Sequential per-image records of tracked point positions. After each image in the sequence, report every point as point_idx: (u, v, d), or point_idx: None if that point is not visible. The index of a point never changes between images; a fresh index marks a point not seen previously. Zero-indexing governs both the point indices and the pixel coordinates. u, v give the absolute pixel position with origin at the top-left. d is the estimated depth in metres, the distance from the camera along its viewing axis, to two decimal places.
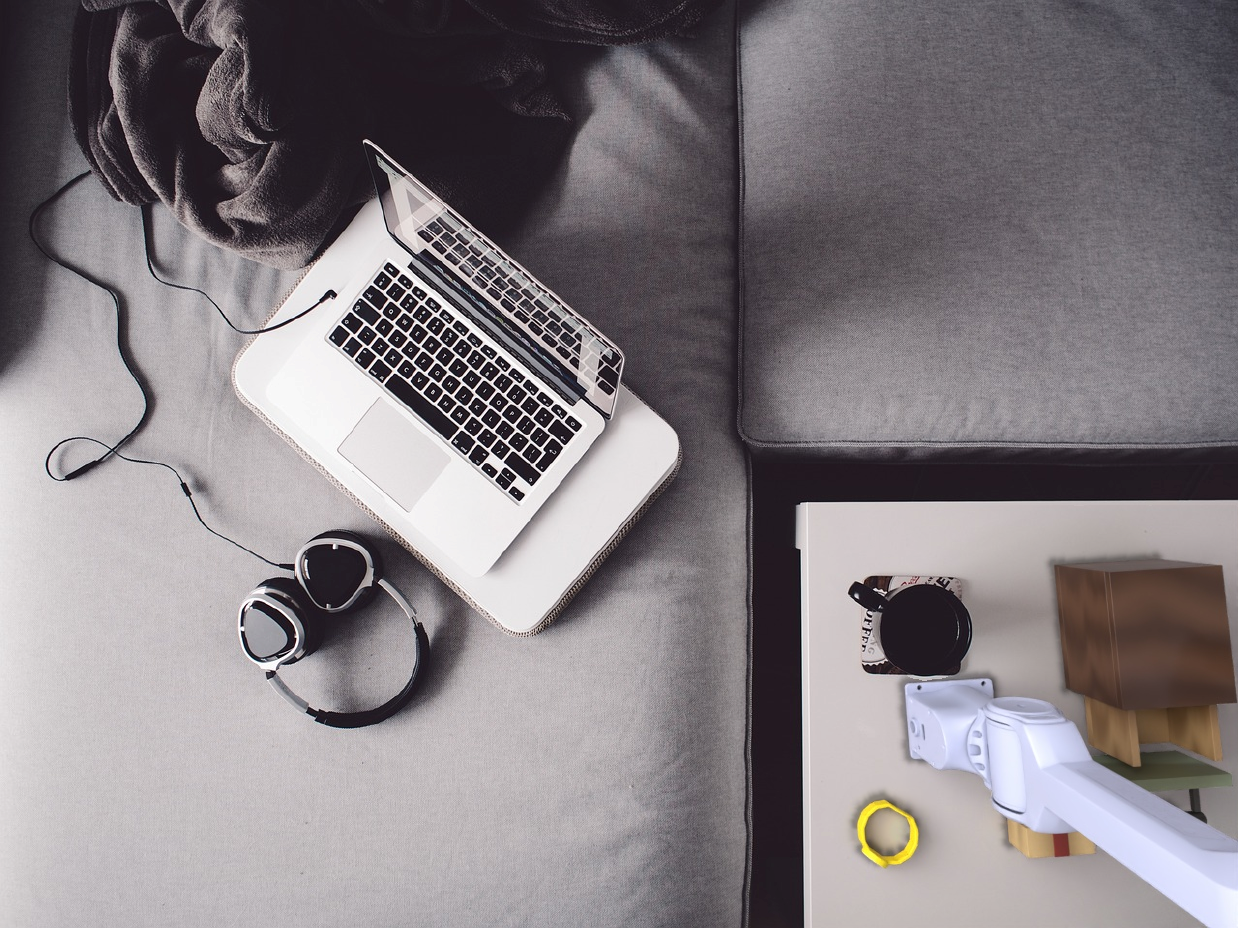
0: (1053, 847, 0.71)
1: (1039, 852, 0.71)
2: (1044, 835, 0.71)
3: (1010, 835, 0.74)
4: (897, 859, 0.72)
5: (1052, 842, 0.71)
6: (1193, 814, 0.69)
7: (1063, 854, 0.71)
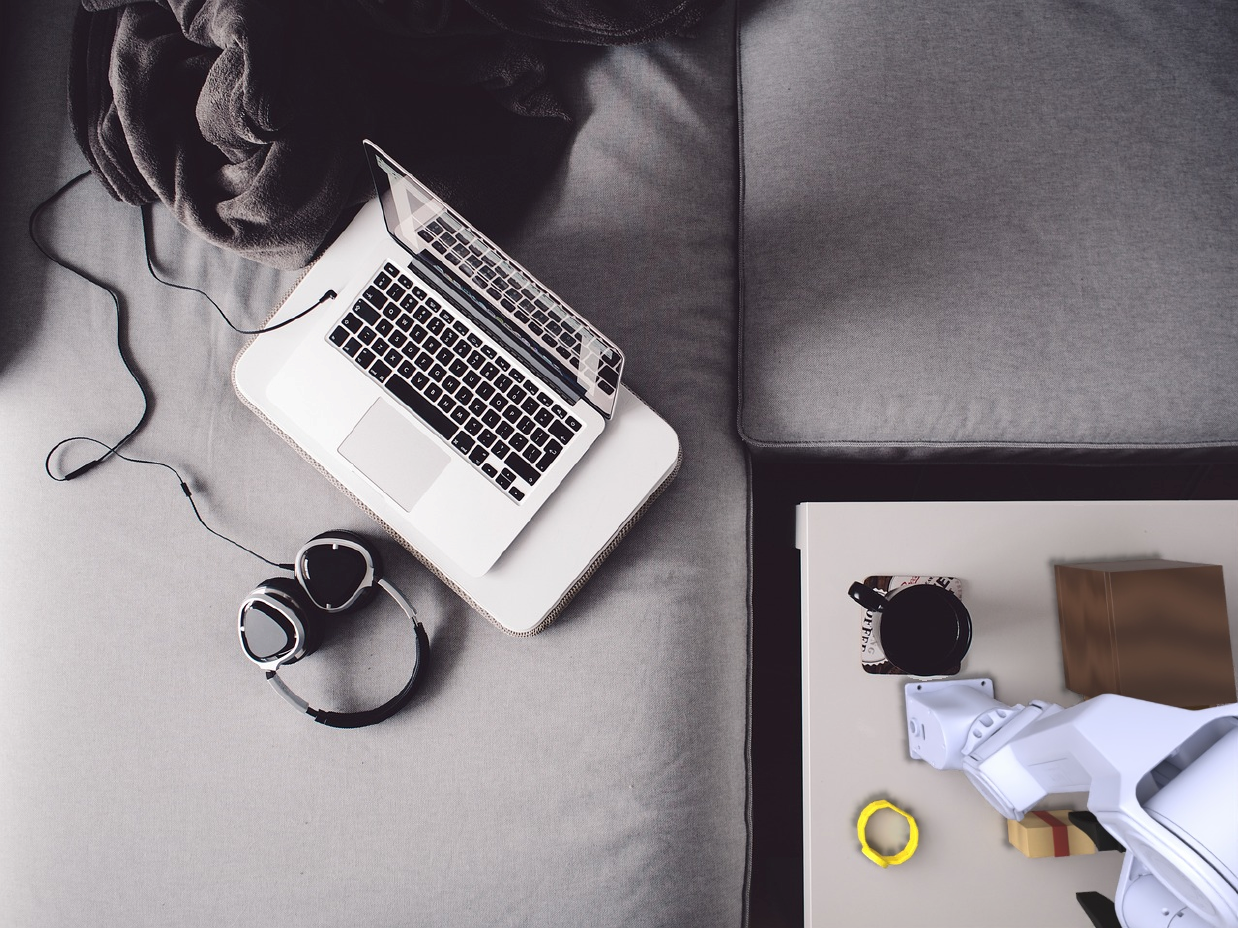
0: (1053, 847, 0.71)
1: (1039, 852, 0.71)
2: (1044, 835, 0.71)
3: (1010, 835, 0.74)
4: (897, 859, 0.72)
5: (1052, 842, 0.71)
6: None
7: (1063, 854, 0.71)
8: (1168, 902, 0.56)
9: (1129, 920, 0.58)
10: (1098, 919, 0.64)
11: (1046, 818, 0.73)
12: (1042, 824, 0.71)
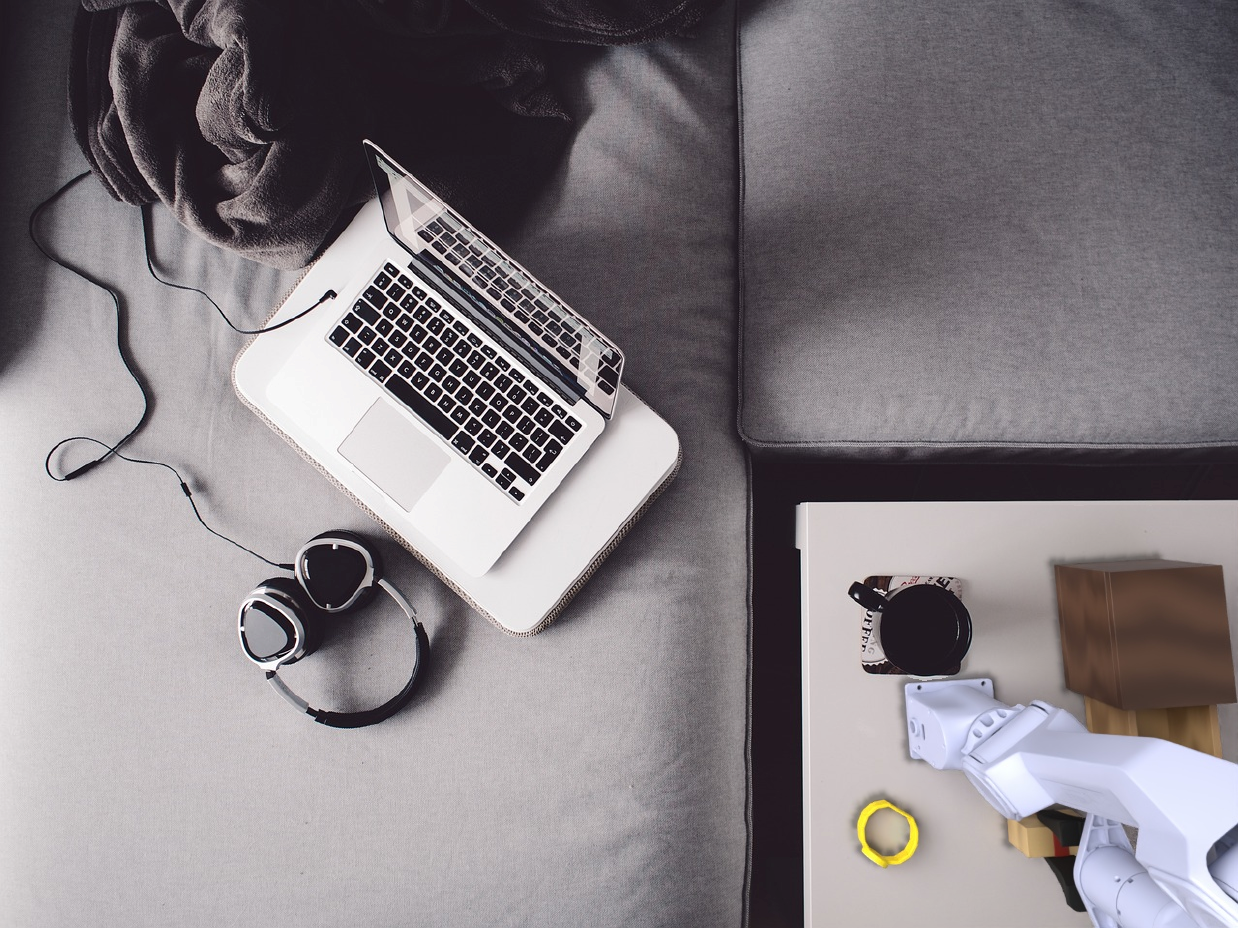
0: (1053, 847, 0.71)
1: (1039, 852, 0.71)
2: (1044, 834, 0.71)
3: (1010, 835, 0.74)
4: (897, 859, 0.72)
5: (1052, 842, 0.71)
6: None
7: (1063, 854, 0.71)
8: (1120, 870, 0.61)
9: (1086, 888, 0.63)
10: (1058, 868, 0.69)
11: None
12: (1042, 824, 0.71)
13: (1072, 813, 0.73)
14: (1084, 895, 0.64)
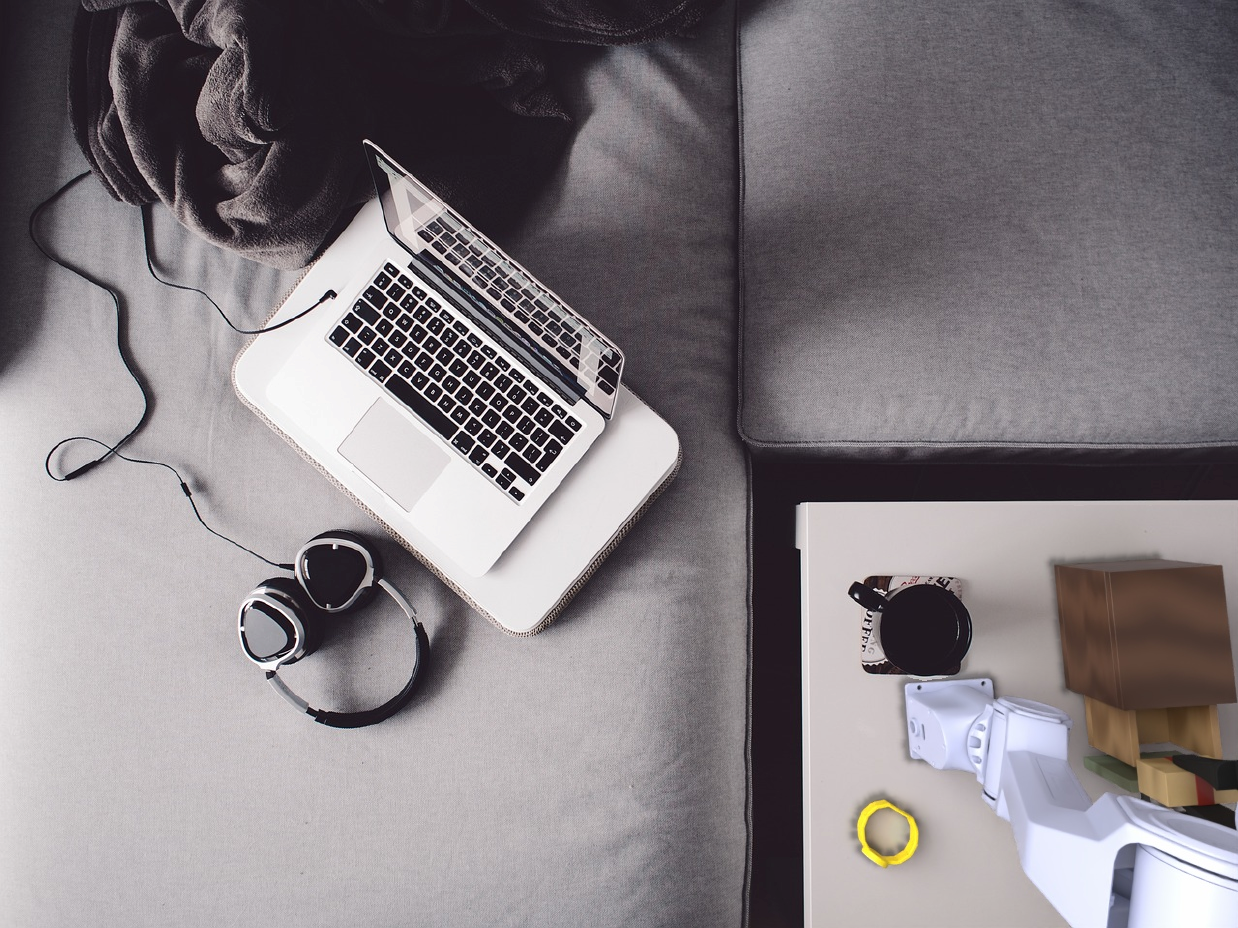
0: (1196, 795, 0.62)
1: (1180, 800, 0.62)
2: (1185, 780, 0.62)
3: (1141, 783, 0.65)
4: (897, 859, 0.72)
5: (1195, 789, 0.62)
6: None
7: (1207, 802, 0.62)
8: None
9: None
10: (1206, 817, 0.60)
11: None
12: (1182, 769, 0.63)
13: None
14: None
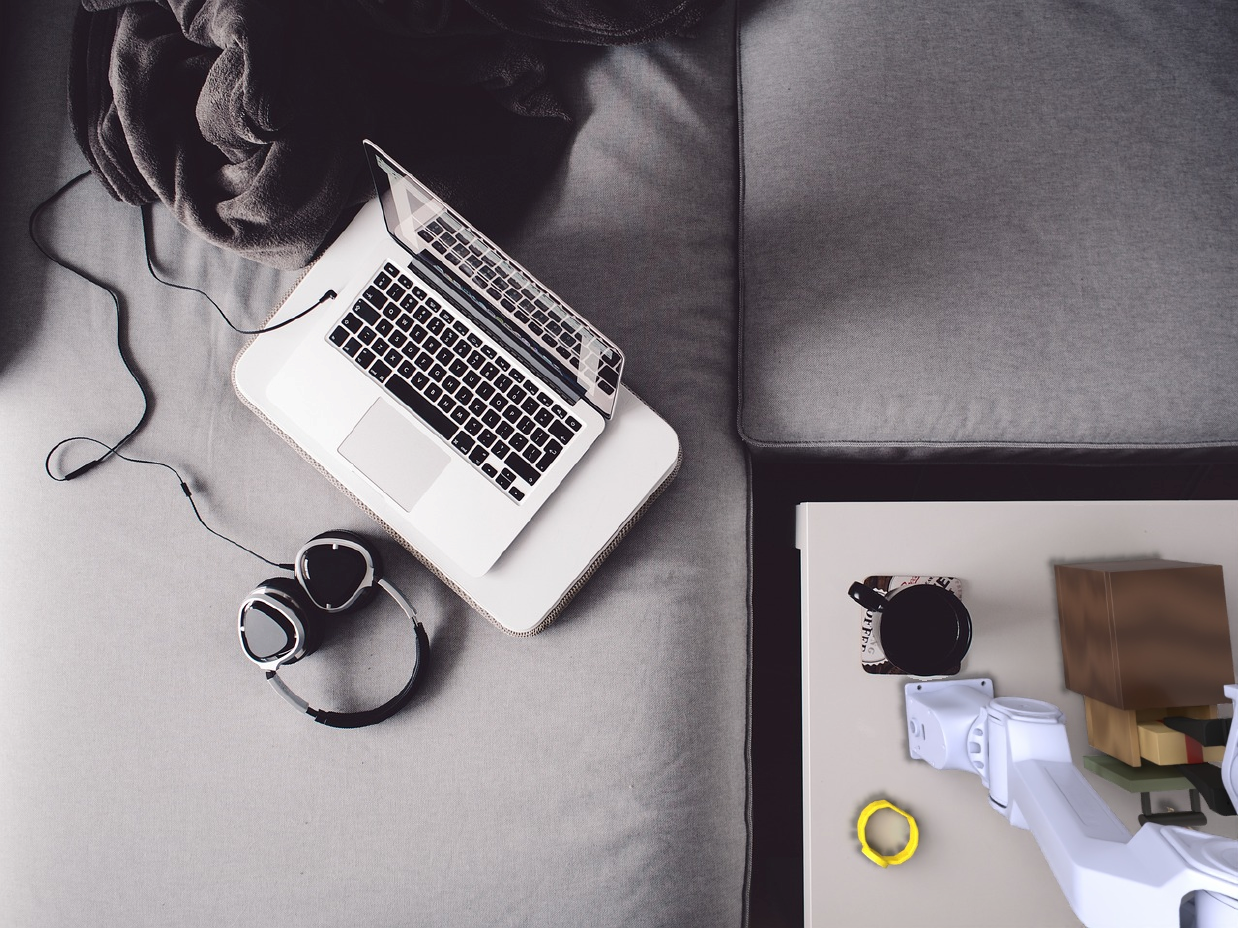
0: (1186, 754, 0.66)
1: (1171, 759, 0.66)
2: (1176, 740, 0.66)
3: None
4: (897, 859, 0.72)
5: (1185, 748, 0.66)
6: (1193, 814, 0.69)
7: (1196, 761, 0.66)
8: None
9: None
10: (1195, 774, 0.64)
11: None
12: (1172, 730, 0.66)
13: None
14: (1235, 794, 0.59)
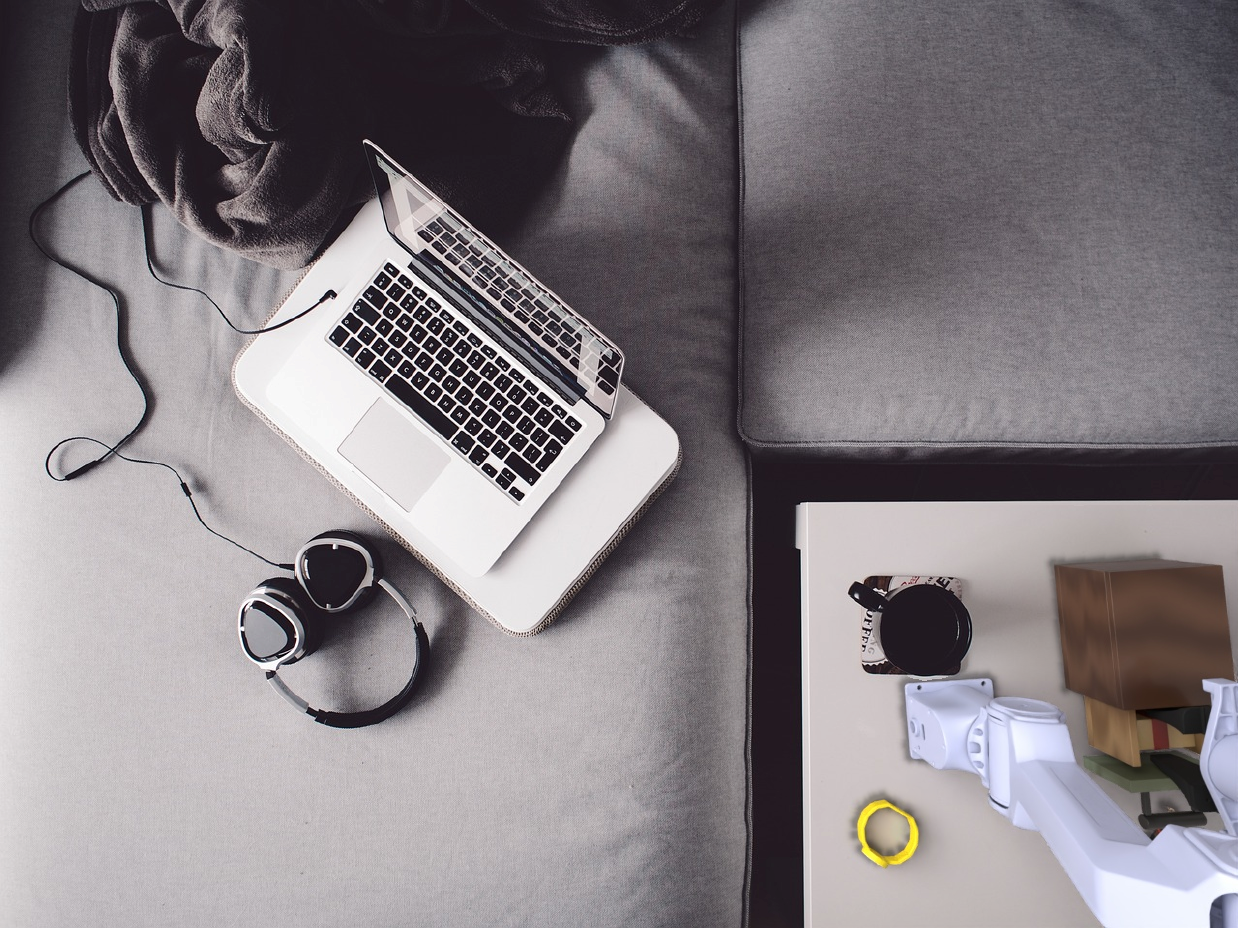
0: (1153, 740, 0.70)
1: None
2: (1143, 727, 0.70)
3: None
4: (897, 859, 0.72)
5: (1152, 735, 0.70)
6: (1193, 814, 0.69)
7: (1162, 747, 0.70)
8: None
9: (1215, 776, 0.60)
10: (1176, 772, 0.66)
11: (1143, 713, 0.72)
12: (1140, 717, 0.70)
13: None
14: (1212, 785, 0.61)
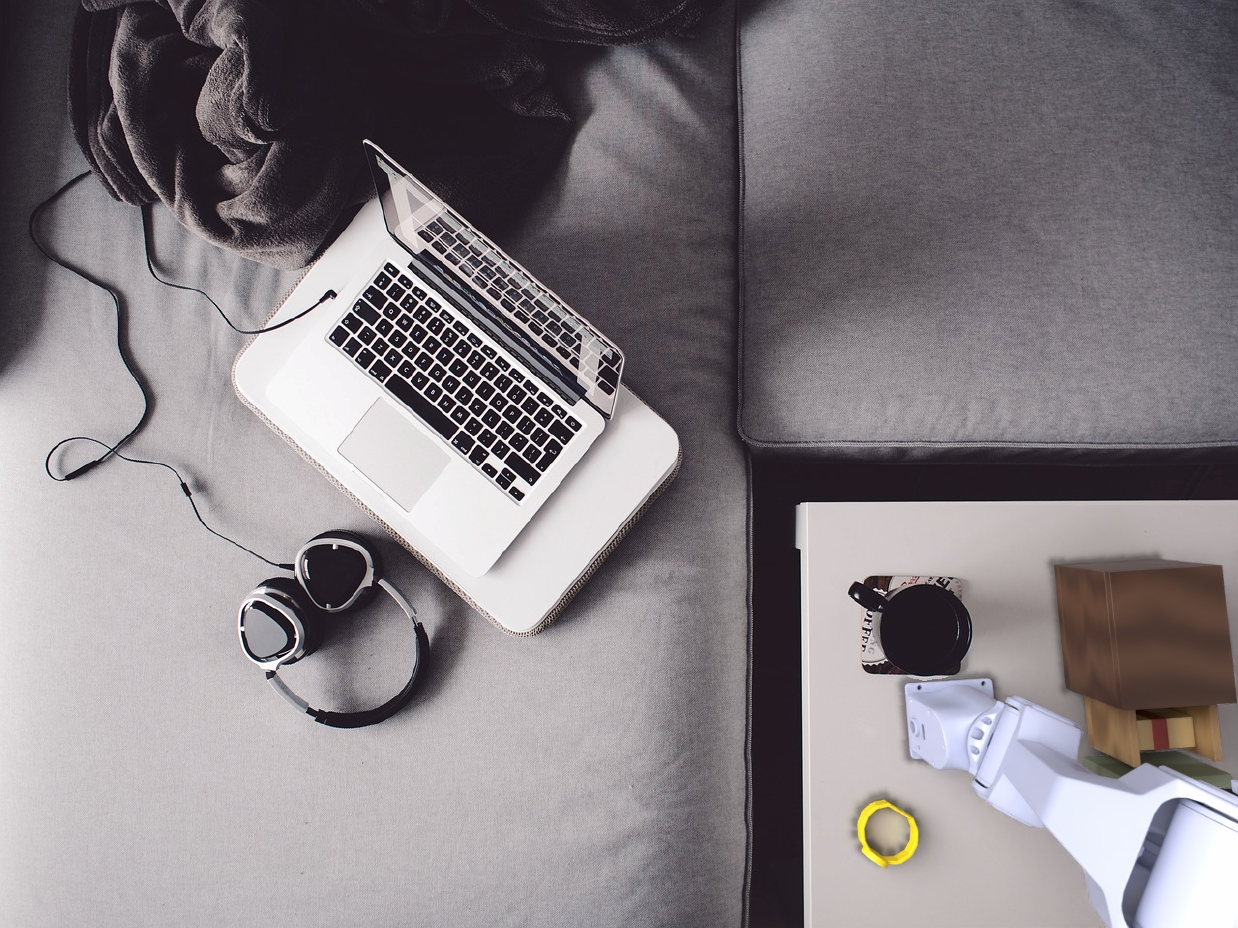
0: (1153, 740, 0.70)
1: None
2: (1143, 727, 0.70)
3: None
4: (897, 859, 0.72)
5: (1152, 735, 0.70)
6: None
7: (1162, 747, 0.70)
8: None
9: None
10: None
11: (1143, 713, 0.72)
12: (1140, 718, 0.70)
13: (1168, 710, 0.72)
14: None
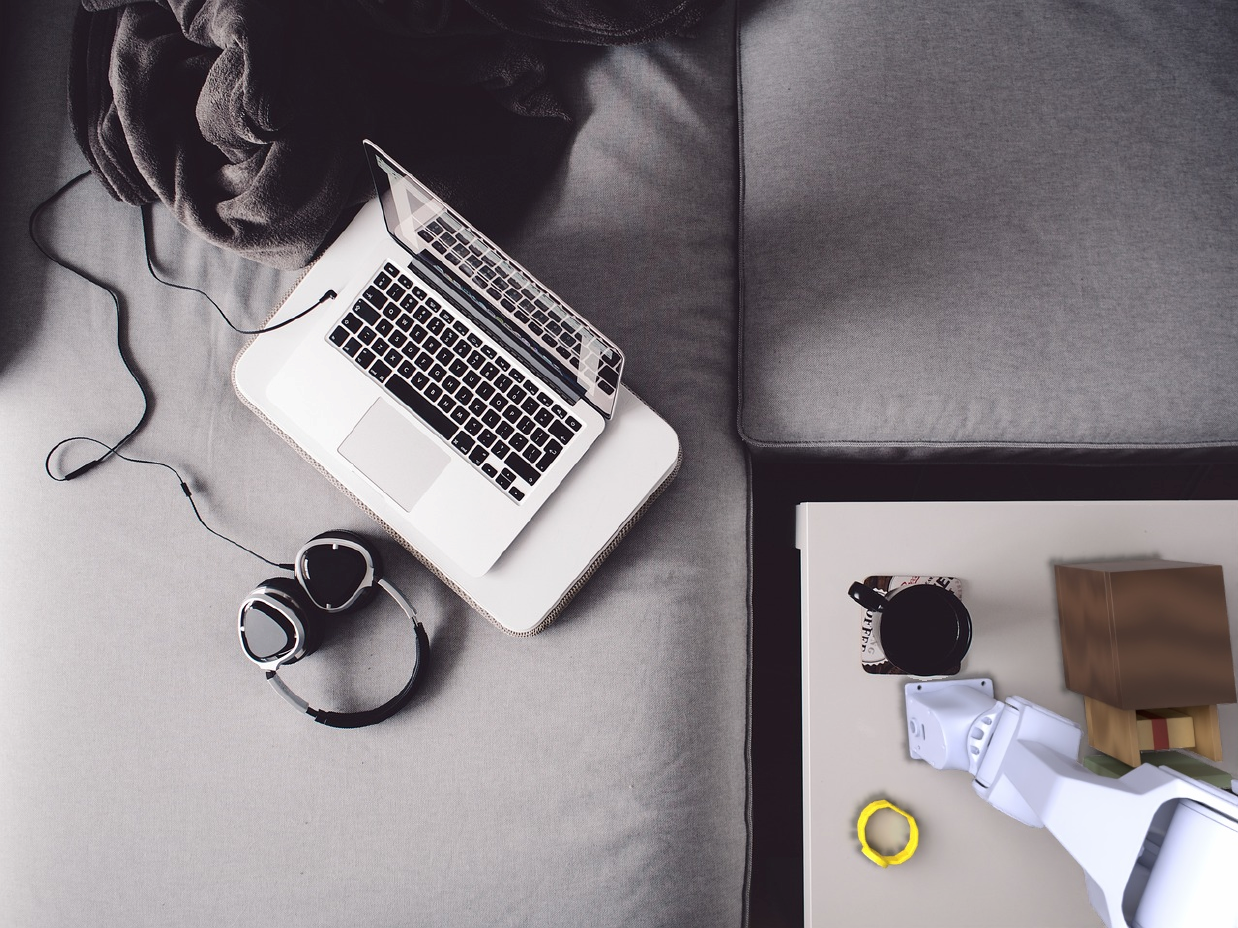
0: (1153, 740, 0.70)
1: None
2: (1143, 727, 0.70)
3: None
4: (897, 859, 0.72)
5: (1152, 735, 0.70)
6: None
7: (1162, 747, 0.70)
8: None
9: None
10: None
11: (1143, 713, 0.72)
12: (1140, 718, 0.70)
13: (1168, 710, 0.72)
14: None
